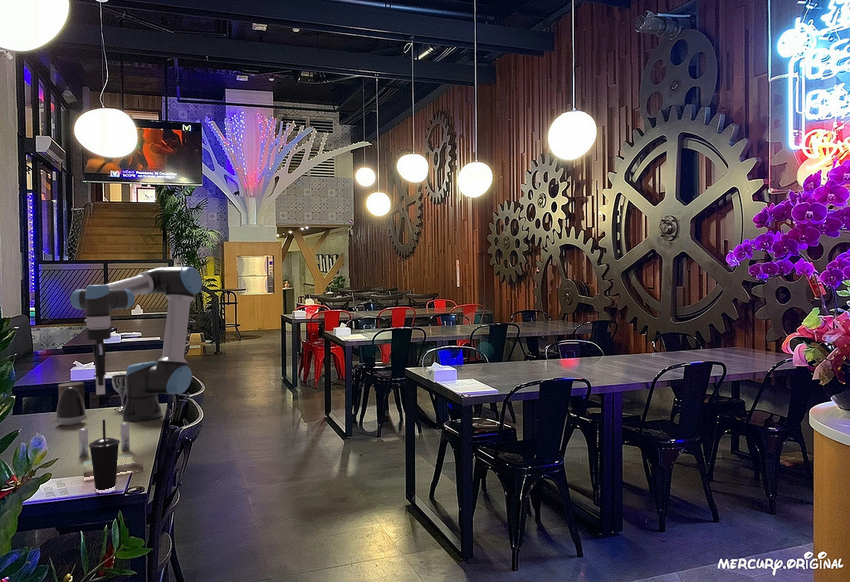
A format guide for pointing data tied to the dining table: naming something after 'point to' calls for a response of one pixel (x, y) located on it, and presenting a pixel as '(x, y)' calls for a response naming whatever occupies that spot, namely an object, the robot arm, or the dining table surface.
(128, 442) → the post
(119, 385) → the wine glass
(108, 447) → the drinking cup
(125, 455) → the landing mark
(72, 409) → the black tapered dome
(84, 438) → the post
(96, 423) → the dining table surface
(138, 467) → the stopper wall
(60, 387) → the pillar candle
